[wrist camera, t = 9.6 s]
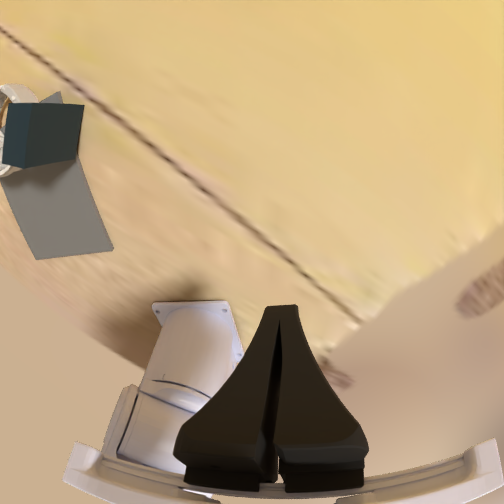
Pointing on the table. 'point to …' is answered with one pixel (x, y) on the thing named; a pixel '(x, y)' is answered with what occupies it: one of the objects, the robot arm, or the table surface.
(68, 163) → the mat
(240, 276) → the table surface
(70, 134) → the watch
